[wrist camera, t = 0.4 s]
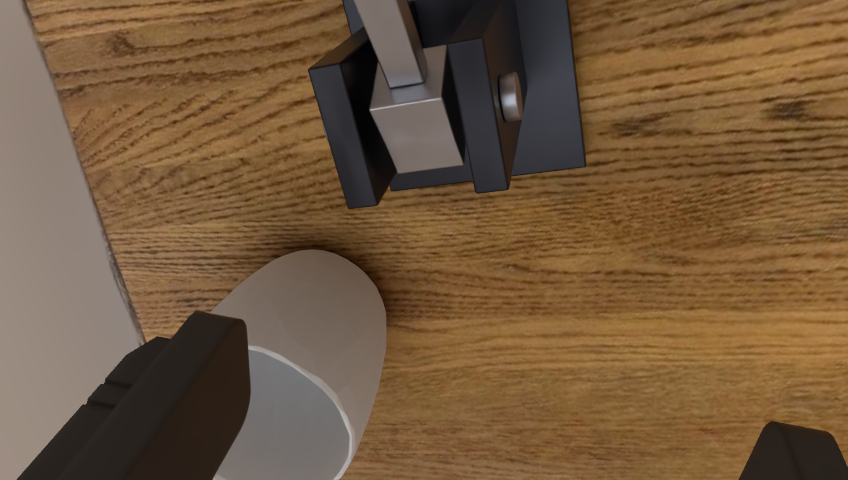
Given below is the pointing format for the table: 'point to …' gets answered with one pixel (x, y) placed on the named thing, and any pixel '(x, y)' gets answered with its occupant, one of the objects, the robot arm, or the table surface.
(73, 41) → the table surface
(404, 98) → the switch
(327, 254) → the mug
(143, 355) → the robot arm
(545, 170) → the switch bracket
